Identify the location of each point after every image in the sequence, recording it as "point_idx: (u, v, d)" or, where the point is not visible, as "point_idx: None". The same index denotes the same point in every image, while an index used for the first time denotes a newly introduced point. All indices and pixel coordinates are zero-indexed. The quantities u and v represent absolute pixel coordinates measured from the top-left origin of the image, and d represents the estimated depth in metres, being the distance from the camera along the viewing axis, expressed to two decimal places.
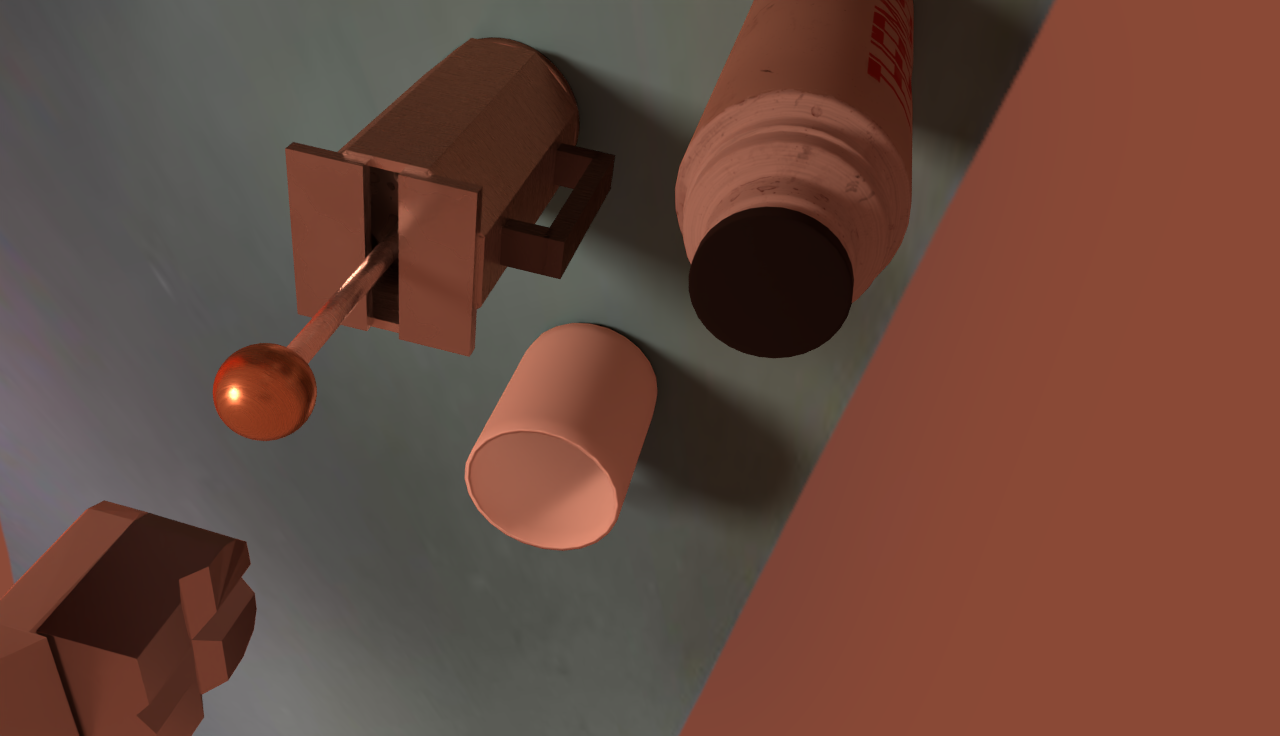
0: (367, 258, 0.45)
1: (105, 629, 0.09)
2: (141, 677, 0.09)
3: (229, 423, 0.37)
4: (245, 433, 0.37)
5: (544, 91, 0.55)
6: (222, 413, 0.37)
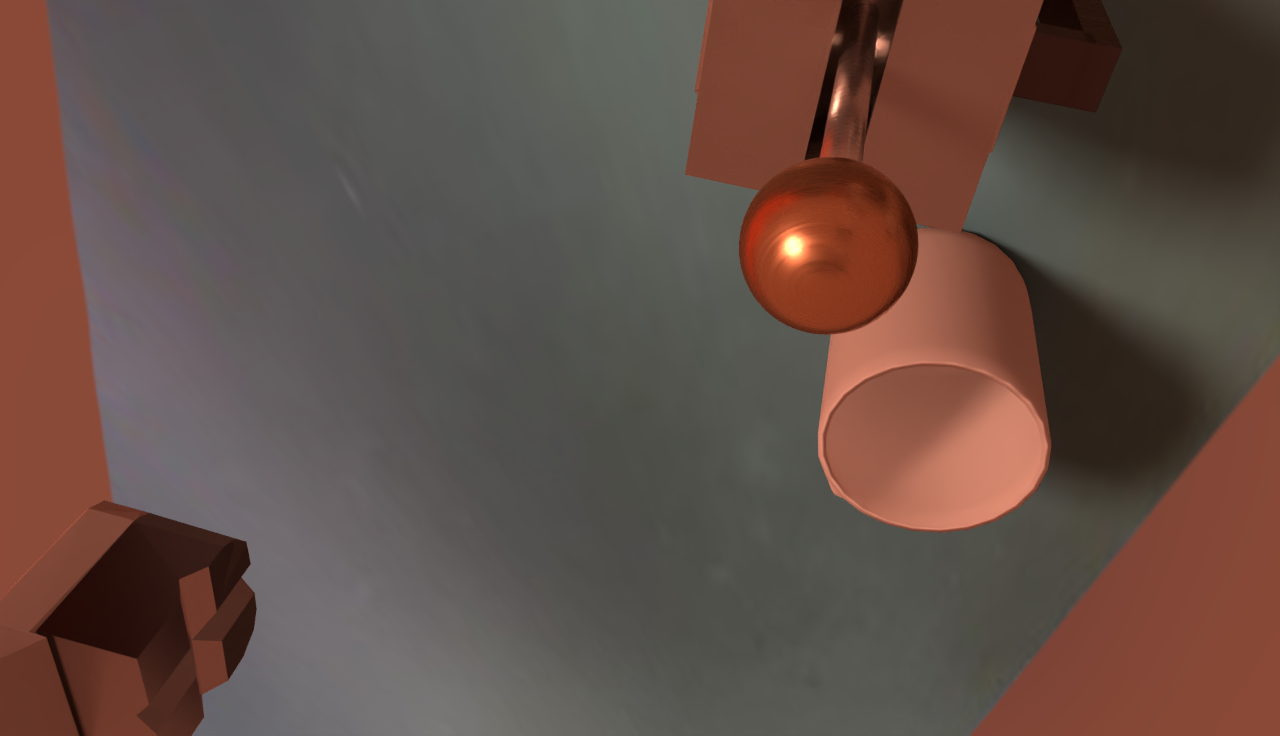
0: (848, 65, 0.28)
1: (105, 629, 0.09)
2: (141, 677, 0.09)
3: (792, 297, 0.20)
4: (817, 316, 0.20)
5: None
6: (781, 279, 0.20)
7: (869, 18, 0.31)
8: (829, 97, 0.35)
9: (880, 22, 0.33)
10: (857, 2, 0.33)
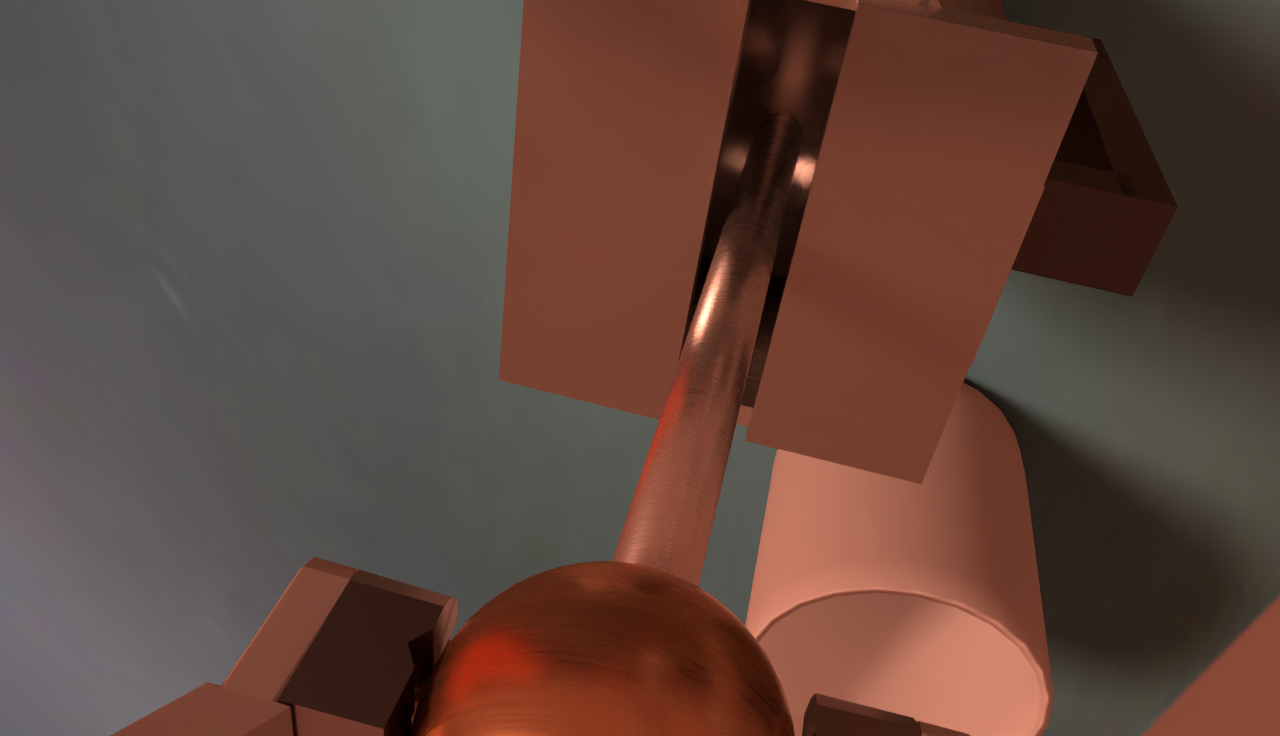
0: (732, 244, 0.17)
1: (346, 697, 0.09)
2: None
3: None
4: None
5: None
6: None
7: (781, 147, 0.20)
8: None
9: (804, 145, 0.22)
10: (768, 116, 0.21)
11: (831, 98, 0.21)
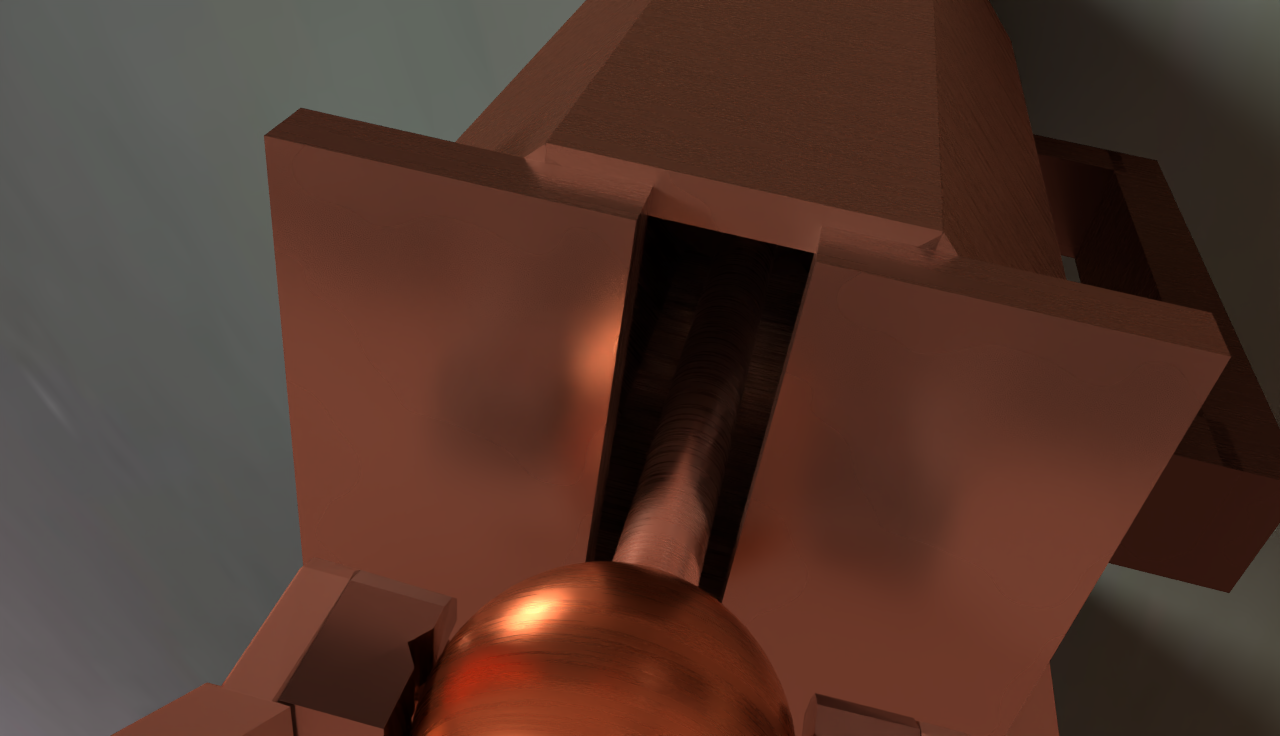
0: (732, 244, 0.17)
1: (346, 697, 0.09)
2: None
3: None
4: None
5: None
6: None
7: None
8: None
9: None
10: None
11: None
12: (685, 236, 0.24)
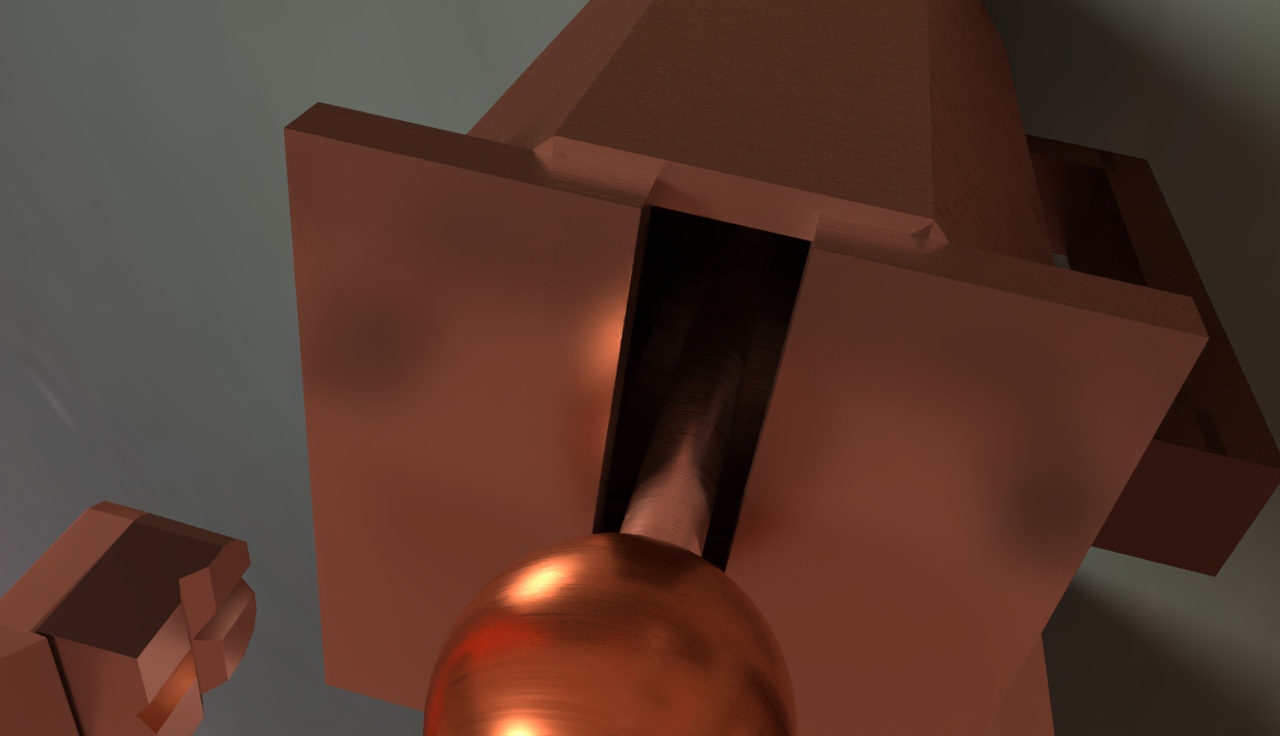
0: (732, 237, 0.17)
1: (105, 629, 0.09)
2: (141, 677, 0.09)
3: None
4: None
5: None
6: None
7: None
8: None
9: None
10: None
11: None
12: (685, 233, 0.24)
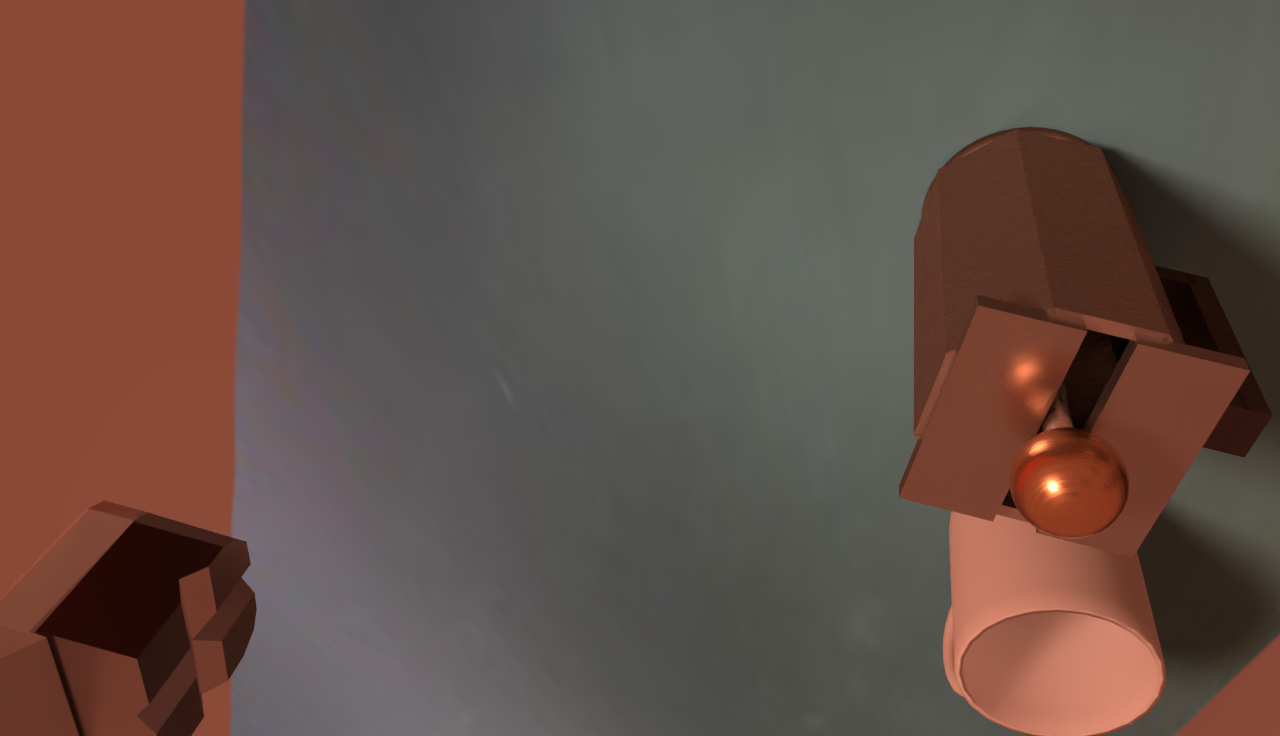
0: None
1: (105, 628, 0.09)
2: (141, 676, 0.09)
3: (1055, 521, 0.32)
4: (1069, 532, 0.32)
5: (1124, 199, 0.44)
6: (1049, 510, 0.32)
7: None
8: None
9: None
10: None
11: None
12: None
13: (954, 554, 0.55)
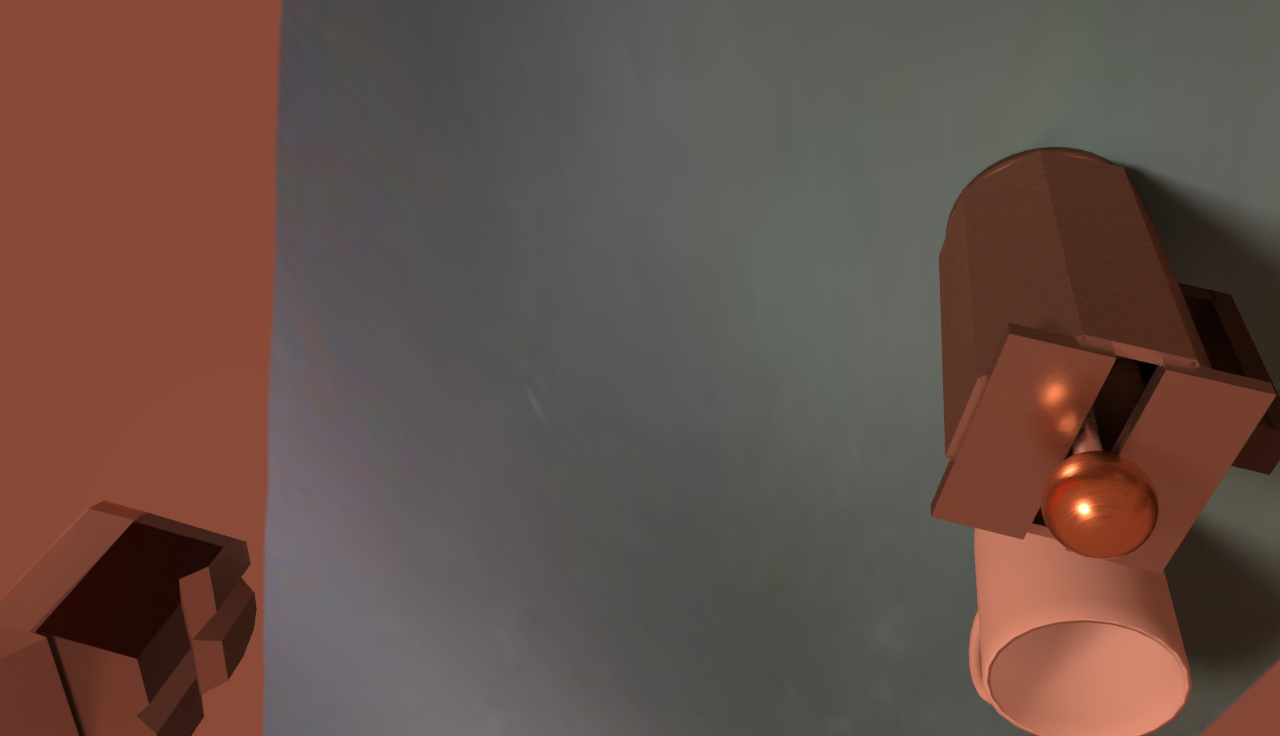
0: None
1: (105, 629, 0.09)
2: (141, 677, 0.09)
3: (1087, 543, 0.33)
4: (1100, 553, 0.33)
5: (1147, 218, 0.45)
6: (1081, 533, 0.33)
7: None
8: None
9: None
10: None
11: None
12: None
13: (980, 563, 0.56)
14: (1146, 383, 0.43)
